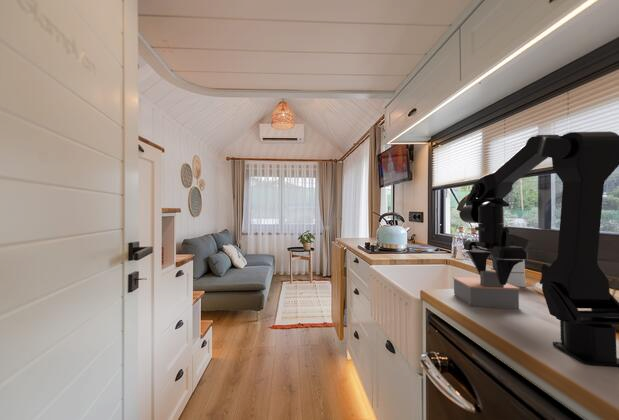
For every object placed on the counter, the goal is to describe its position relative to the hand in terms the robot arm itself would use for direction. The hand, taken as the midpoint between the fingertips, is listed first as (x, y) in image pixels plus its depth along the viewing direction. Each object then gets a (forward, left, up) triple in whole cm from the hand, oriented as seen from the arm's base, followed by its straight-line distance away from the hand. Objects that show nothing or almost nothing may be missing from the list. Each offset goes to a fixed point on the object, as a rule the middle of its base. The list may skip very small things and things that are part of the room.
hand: (492, 280), depth 67 cm
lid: (+4, 0, -2) cm, 4 cm away
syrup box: (+24, -20, -7) cm, 32 cm away
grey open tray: (+4, 0, -7) cm, 8 cm away
